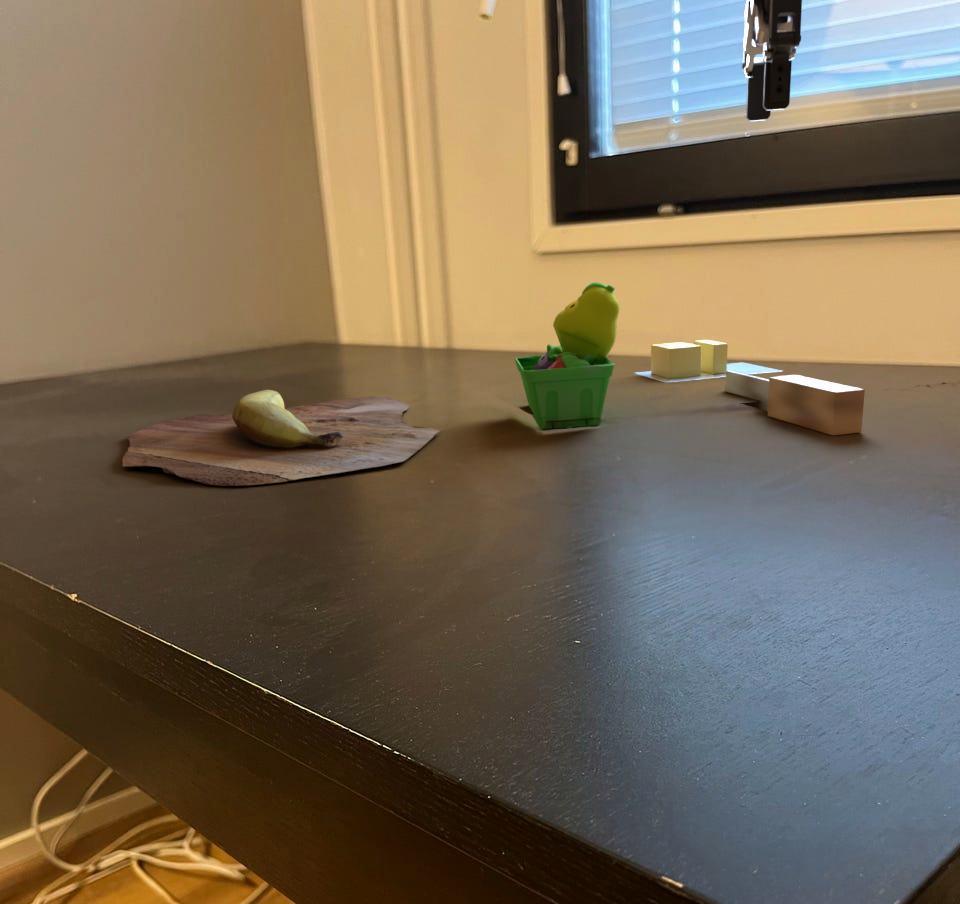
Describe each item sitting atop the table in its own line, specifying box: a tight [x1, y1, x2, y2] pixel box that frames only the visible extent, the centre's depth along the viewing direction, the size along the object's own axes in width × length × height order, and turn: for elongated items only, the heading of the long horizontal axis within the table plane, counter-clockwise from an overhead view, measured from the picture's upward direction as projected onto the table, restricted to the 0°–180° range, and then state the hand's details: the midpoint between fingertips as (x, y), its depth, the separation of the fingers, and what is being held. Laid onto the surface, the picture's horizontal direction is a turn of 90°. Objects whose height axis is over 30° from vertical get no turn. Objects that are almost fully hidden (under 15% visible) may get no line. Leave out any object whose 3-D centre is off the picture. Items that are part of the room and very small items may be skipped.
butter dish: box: [633, 361, 783, 384], centre depth 104 cm, size 13×9×1 cm
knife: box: [724, 371, 866, 436], centre depth 82 cm, size 20×2×3 cm, turn 13°
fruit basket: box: [514, 281, 621, 430], centre depth 85 cm, size 11×9×11 cm
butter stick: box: [650, 341, 701, 379], centre depth 103 cm, size 4×5×3 cm
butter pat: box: [693, 339, 729, 374], centre depth 104 cm, size 2×5×3 cm, turn 13°
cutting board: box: [122, 389, 442, 487], centre depth 86 cm, size 35×27×4 cm
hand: (766, 115), depth 92 cm, fingers open, 8 cm apart
